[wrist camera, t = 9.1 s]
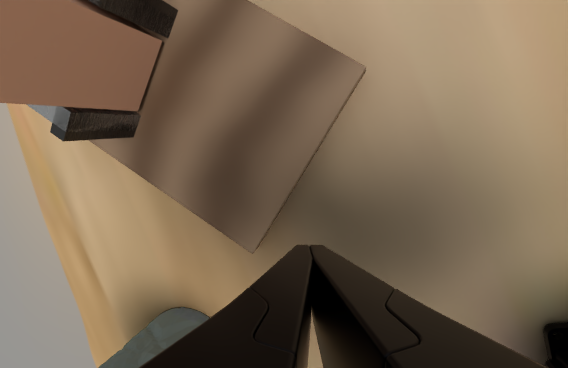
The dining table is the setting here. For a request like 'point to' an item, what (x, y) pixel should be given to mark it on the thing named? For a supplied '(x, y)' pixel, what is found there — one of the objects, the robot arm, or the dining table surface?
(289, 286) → the robot arm
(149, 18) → the grey block
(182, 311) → the grey embossed cylinder
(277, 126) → the walnut board
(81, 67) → the terracotta peg
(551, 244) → the dining table surface
